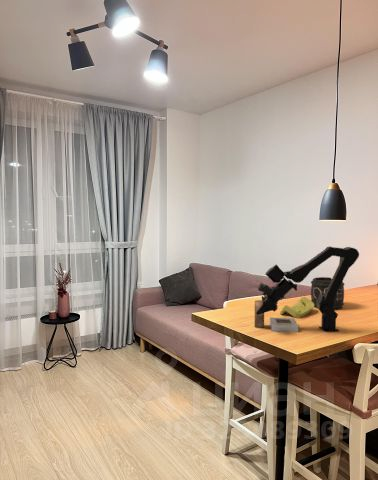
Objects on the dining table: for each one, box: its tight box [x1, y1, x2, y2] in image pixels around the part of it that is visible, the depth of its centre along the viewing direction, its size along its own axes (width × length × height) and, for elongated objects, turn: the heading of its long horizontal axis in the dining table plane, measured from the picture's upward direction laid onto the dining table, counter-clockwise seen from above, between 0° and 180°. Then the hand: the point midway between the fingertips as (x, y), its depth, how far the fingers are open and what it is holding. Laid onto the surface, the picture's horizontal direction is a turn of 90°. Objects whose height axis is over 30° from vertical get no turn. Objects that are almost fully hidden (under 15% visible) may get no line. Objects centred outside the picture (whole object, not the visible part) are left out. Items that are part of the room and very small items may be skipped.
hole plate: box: [269, 317, 299, 333], centre depth 168 cm, size 12×12×3 cm
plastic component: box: [279, 296, 315, 319], centre depth 193 cm, size 20×7×10 cm
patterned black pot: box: [310, 276, 345, 311], centre depth 207 cm, size 18×18×16 cm
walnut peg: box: [254, 299, 265, 329], centre depth 169 cm, size 4×4×12 cm
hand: (256, 312), depth 169 cm, fingers closed on walnut peg, 4 cm apart
